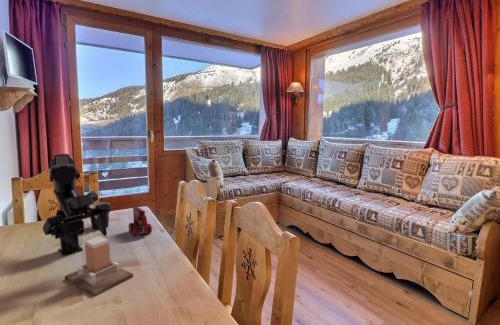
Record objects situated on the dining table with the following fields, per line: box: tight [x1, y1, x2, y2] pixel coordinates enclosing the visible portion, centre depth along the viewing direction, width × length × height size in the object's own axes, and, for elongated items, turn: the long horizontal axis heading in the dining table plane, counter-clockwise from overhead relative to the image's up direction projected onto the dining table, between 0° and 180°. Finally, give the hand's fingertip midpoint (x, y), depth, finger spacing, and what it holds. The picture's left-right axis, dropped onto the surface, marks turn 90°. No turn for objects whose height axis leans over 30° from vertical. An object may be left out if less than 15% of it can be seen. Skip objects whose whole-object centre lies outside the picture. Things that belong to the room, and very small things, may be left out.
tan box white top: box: [84, 236, 111, 273], centre depth 88 cm, size 5×5×11 cm
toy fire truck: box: [127, 205, 153, 237], centre depth 124 cm, size 7×12×10 cm, turn 40°
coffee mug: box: [87, 202, 111, 231], centre depth 131 cm, size 12×9×10 cm
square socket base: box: [64, 259, 134, 297], centre depth 89 cm, size 16×12×4 cm
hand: (91, 240), depth 89 cm, fingers open, 9 cm apart
